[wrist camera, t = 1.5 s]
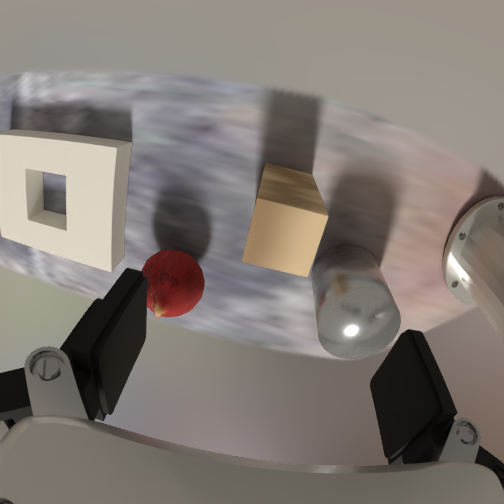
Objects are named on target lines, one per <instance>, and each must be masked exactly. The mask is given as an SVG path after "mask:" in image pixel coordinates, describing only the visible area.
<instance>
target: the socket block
mask: <svg viewBox="0 0 504 504" xmlns="http://www.w3.org/2000/svg"><path fill="white" fill-rule="evenodd" d="M131 150H132V142H127V141H121V140H114V139H106V138H99V137H91V136H83V135H74V134H65V133H56V132H45V131H33V130H19V129H12V130H9V131H5V132H2V133H0V229H1V236H2V237H4V238H7V239H10V240H13V241H16V242H19V243H21V244H24V245H27V246H30V247H33V248H36V249H39V250H42V251H45V252H48V253H51V254H54V255H57V256H60V257H64V258H67V259H70V260H73V261H76V262H79V263H83V264H86V265H89V266H92V267H96V268H99V269H102V270H106V271H109V272H112V271H113V270H114V269H115V268H116V266H117V265H118V264H119V263H120V262H121V261H122V259H123V258H124V241H125V218H126V202H127V189H128V178H129V168H130V158H131ZM43 172H49V173H55V174H60V175H65V176H66V215H63V214H59V213H55V212H51V211H48V210H44V198H43Z"/></svg>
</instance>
